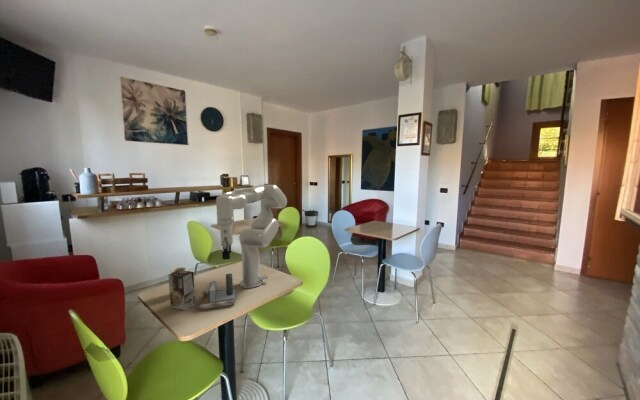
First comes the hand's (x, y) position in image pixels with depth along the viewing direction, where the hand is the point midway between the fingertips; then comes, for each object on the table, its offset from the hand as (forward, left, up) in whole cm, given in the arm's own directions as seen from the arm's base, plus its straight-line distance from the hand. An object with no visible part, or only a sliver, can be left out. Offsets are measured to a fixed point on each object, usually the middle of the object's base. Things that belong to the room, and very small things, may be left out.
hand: (227, 255), depth 127 cm
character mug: (+24, -14, -23) cm, 36 cm away
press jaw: (+3, 0, -21) cm, 21 cm away
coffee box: (+20, 0, -23) cm, 30 cm away
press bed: (+5, 0, -22) cm, 23 cm away
